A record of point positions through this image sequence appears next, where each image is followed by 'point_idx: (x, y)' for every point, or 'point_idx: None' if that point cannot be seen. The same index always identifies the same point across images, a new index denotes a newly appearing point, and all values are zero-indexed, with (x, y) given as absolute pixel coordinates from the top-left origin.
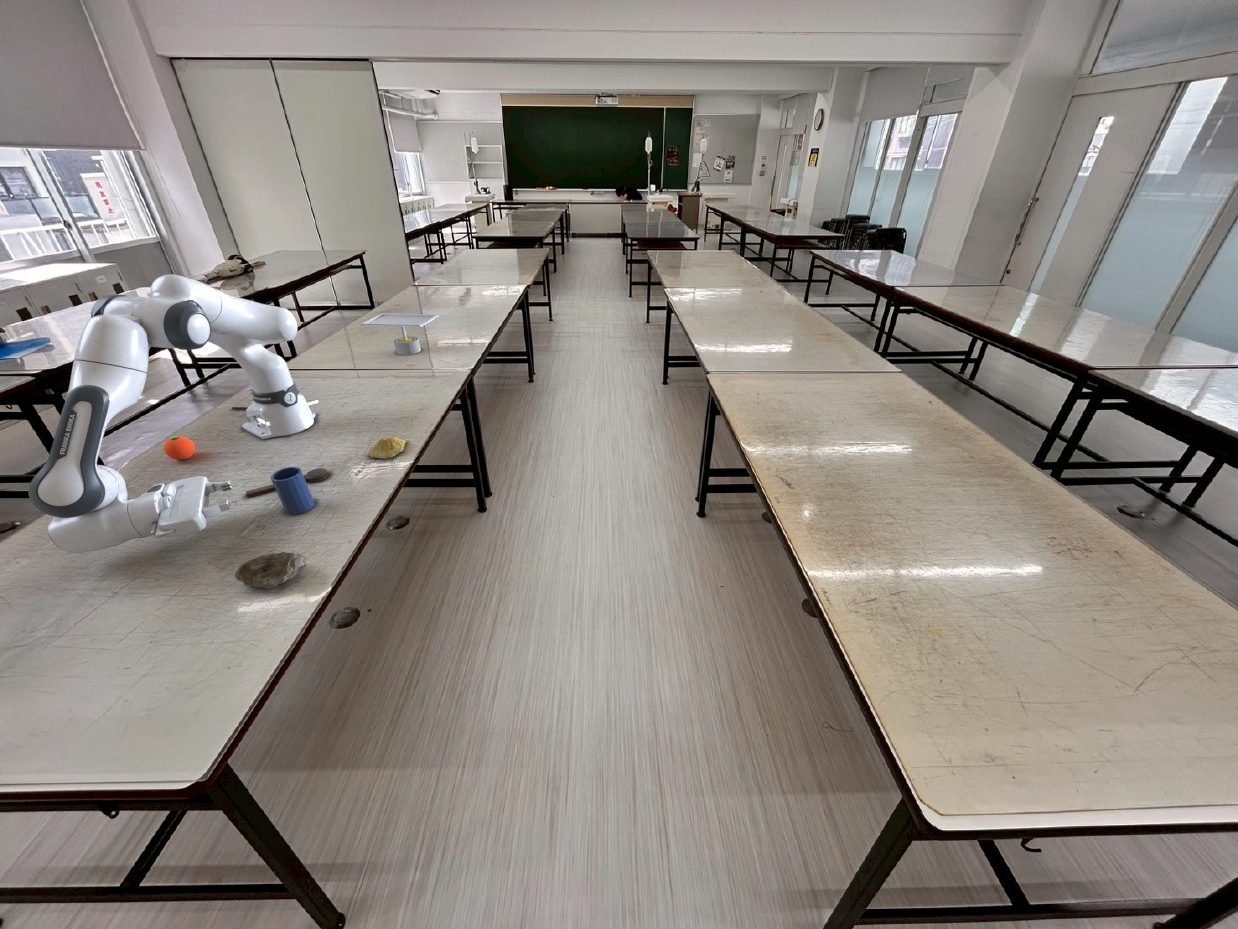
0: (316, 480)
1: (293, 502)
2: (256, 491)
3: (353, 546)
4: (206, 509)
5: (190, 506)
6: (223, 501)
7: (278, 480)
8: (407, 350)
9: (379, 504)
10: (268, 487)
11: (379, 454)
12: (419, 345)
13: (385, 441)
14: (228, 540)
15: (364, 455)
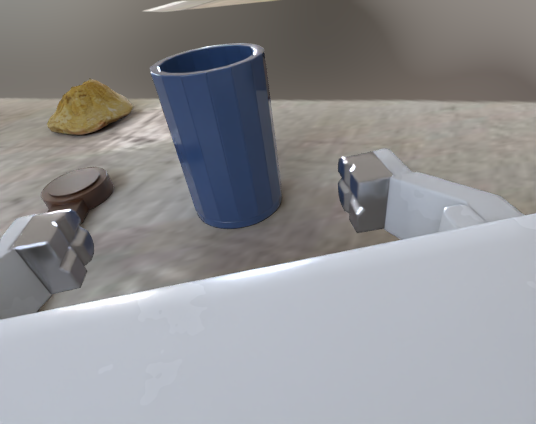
0: (109, 188)
1: (276, 154)
2: None
3: (469, 102)
4: (495, 207)
5: (519, 306)
6: (356, 163)
7: (252, 56)
8: None
9: (311, 101)
10: None
11: (111, 110)
12: None
13: (92, 84)
14: None
15: (64, 145)
